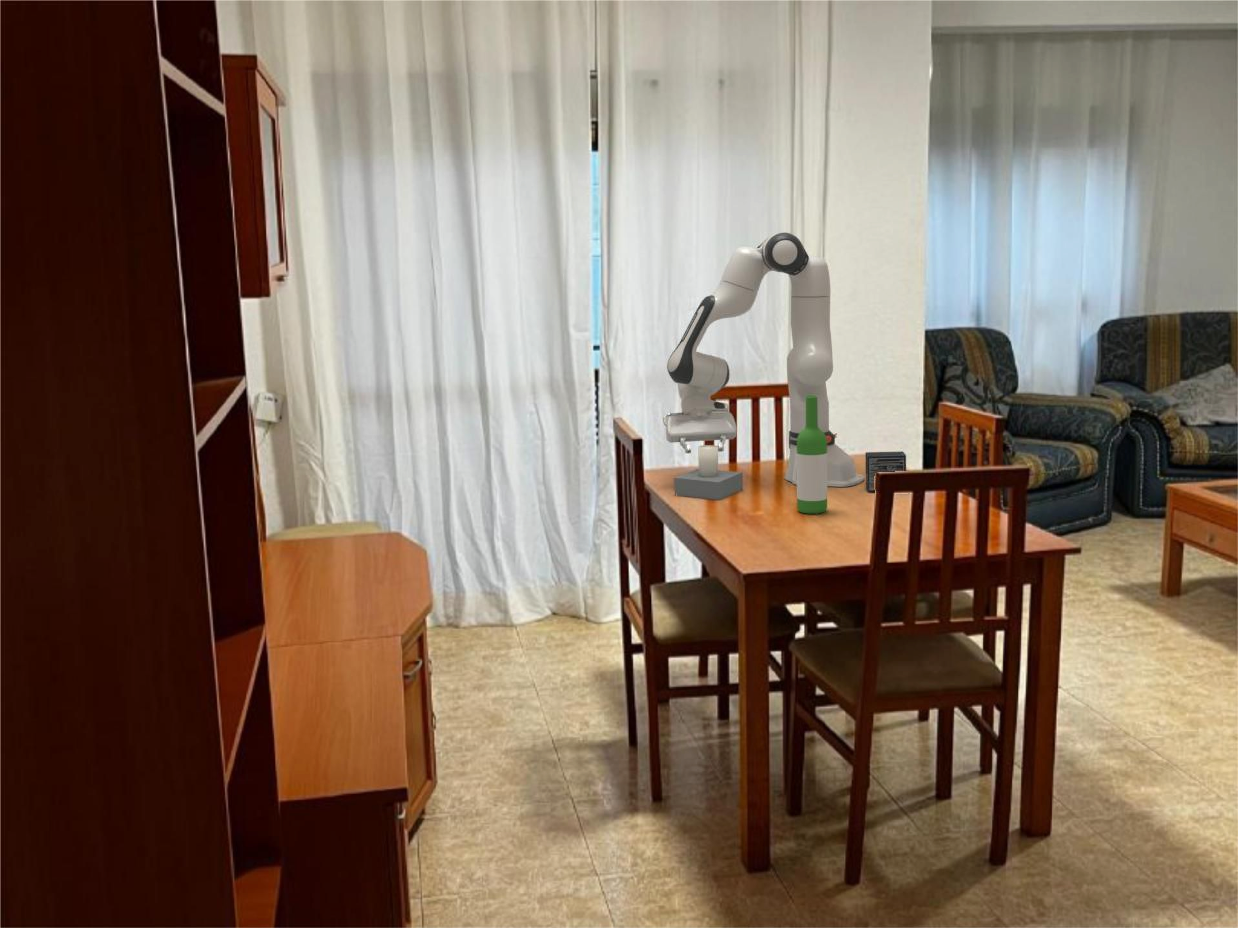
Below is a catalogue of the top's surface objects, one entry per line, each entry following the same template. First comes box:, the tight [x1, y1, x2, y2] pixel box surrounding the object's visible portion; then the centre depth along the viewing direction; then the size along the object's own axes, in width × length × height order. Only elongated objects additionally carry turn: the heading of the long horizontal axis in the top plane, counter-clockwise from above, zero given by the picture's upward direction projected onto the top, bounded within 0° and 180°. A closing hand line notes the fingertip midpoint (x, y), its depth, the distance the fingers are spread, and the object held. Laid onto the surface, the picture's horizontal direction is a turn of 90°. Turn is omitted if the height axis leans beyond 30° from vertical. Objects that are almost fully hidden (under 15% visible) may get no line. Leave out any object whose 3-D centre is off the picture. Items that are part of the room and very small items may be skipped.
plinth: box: [673, 468, 744, 501], centre depth 330 cm, size 14×14×5 cm
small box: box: [865, 450, 907, 494], centre depth 324 cm, size 11×6×10 cm, turn 84°
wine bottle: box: [796, 396, 828, 515], centre depth 302 cm, size 8×8×30 cm
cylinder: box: [697, 444, 719, 477], centre depth 328 cm, size 6×6×8 cm
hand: (704, 451), depth 333 cm, fingers open, 8 cm apart
